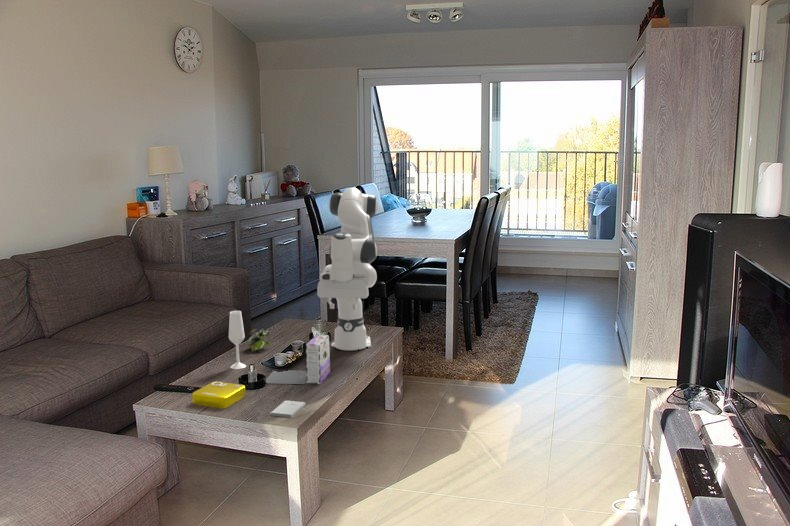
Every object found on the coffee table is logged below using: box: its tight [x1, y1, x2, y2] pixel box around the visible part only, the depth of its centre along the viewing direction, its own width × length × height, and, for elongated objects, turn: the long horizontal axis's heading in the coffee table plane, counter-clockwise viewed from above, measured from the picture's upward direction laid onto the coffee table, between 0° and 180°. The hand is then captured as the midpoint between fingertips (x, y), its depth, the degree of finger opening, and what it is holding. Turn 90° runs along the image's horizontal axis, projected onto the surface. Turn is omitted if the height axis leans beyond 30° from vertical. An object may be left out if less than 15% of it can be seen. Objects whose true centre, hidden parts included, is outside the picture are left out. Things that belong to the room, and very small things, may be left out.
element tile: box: [191, 381, 247, 409], centre depth 260 cm, size 15×15×5 cm
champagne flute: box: [228, 310, 247, 370], centre depth 296 cm, size 7×7×24 cm
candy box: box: [305, 334, 331, 385], centre depth 281 cm, size 14×6×16 cm, turn 168°
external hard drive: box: [269, 400, 307, 418], centre depth 249 cm, size 2×8×12 cm
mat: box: [265, 369, 307, 386], centre depth 284 cm, size 16×17×1 cm
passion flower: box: [247, 328, 271, 353], centre depth 323 cm, size 11×11×12 cm
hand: (343, 308), depth 276 cm, fingers open, 8 cm apart
